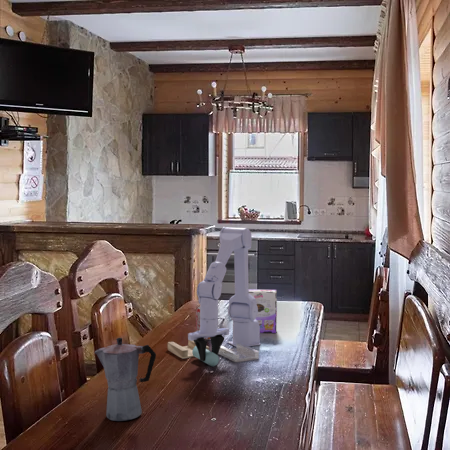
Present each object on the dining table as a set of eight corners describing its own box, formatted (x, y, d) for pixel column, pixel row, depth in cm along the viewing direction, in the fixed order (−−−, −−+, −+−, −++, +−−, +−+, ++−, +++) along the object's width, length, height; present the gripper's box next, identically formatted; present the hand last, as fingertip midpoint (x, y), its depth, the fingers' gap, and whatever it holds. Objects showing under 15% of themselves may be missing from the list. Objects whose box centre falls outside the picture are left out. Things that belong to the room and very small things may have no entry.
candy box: (276, 330, 248) (277, 289, 247) (276, 333, 242) (276, 291, 241) (242, 328, 249) (242, 288, 248) (241, 332, 243) (241, 291, 242)
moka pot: (97, 408, 162) (96, 333, 160) (156, 407, 163) (156, 332, 161) (92, 423, 152) (91, 343, 151) (155, 421, 153) (155, 342, 152)
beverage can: (210, 341, 229) (210, 309, 228) (193, 340, 230) (194, 309, 229) (214, 337, 235) (214, 306, 234) (198, 336, 236) (198, 305, 235)
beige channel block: (193, 346, 222) (193, 339, 222) (208, 354, 212) (208, 347, 212) (167, 349, 218) (167, 342, 217) (182, 358, 207) (182, 350, 207)
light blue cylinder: (192, 357, 206) (192, 346, 206) (202, 356, 208) (202, 344, 208) (208, 367, 198) (208, 355, 197) (218, 365, 200) (219, 353, 200)
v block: (240, 350, 218) (240, 342, 218) (258, 358, 208) (258, 351, 208) (217, 353, 214) (217, 346, 214) (235, 362, 203) (235, 354, 203)
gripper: (220, 313, 208) (220, 352, 209) (183, 318, 200) (183, 359, 201) (232, 317, 202) (232, 357, 203) (194, 322, 194) (194, 365, 195)
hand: (208, 359), depth 201 cm, fingers closed on light blue cylinder, 4 cm apart
